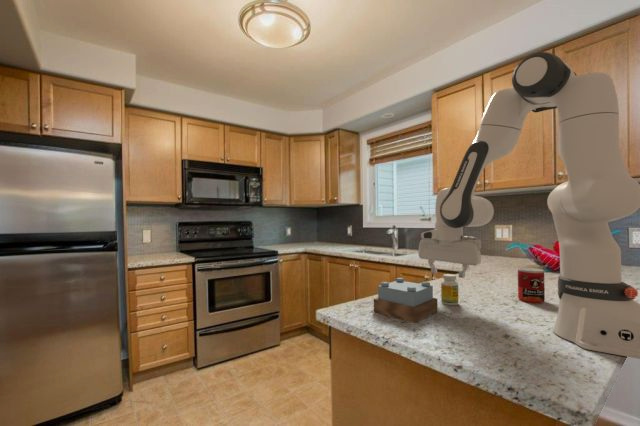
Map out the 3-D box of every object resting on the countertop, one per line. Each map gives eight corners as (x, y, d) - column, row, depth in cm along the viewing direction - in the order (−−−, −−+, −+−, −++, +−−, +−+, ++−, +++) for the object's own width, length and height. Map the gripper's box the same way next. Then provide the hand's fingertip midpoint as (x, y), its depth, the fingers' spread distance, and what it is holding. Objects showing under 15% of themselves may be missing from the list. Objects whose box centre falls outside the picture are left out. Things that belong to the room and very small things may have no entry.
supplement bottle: (445, 300, 106) (445, 273, 106) (461, 303, 102) (460, 275, 102) (438, 303, 102) (438, 275, 102) (454, 306, 98) (454, 277, 98)
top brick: (432, 298, 93) (432, 282, 93) (413, 306, 85) (413, 289, 85) (398, 292, 102) (398, 277, 102) (378, 298, 93) (378, 282, 93)
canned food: (522, 302, 102) (522, 270, 102) (514, 296, 110) (514, 266, 110) (549, 304, 100) (548, 271, 100) (539, 298, 108) (538, 267, 108)
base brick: (437, 311, 93) (437, 298, 93) (415, 322, 83) (415, 308, 83) (397, 302, 103) (397, 291, 103) (373, 311, 93) (373, 298, 93)
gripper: (484, 236, 98) (483, 279, 98) (424, 232, 112) (423, 269, 112) (478, 237, 93) (477, 281, 93) (416, 233, 108) (415, 271, 108)
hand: (447, 275), depth 103 cm, fingers open, 8 cm apart
